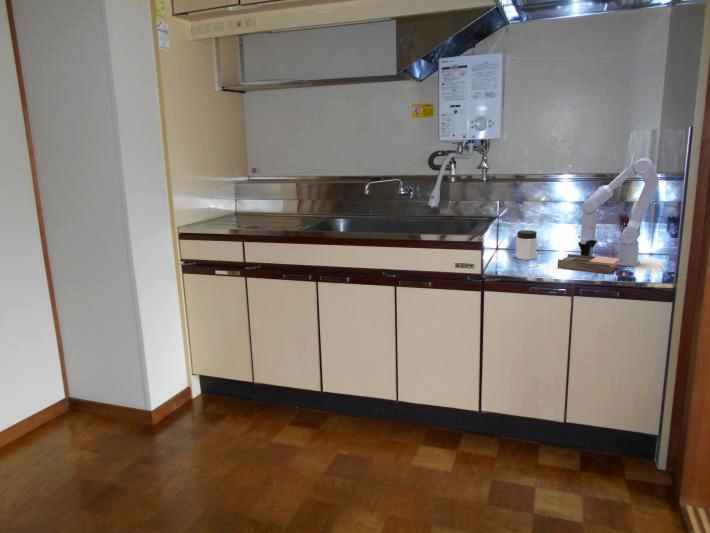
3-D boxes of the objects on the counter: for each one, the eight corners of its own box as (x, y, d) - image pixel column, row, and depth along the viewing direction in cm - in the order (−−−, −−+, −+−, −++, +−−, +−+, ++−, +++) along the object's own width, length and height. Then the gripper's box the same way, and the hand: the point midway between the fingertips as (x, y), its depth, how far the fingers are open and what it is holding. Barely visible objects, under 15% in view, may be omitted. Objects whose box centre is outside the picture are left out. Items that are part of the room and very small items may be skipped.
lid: (596, 259, 231) (596, 256, 231) (619, 262, 226) (619, 258, 225) (589, 264, 222) (589, 261, 222) (613, 267, 217) (613, 263, 217)
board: (567, 261, 240) (568, 253, 239) (617, 267, 228) (618, 259, 227) (557, 268, 229) (558, 259, 228) (608, 274, 217) (609, 265, 216)
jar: (525, 255, 255) (526, 229, 252) (539, 258, 248) (541, 231, 245) (511, 257, 250) (513, 231, 247) (526, 260, 243) (527, 234, 241)
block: (582, 259, 244) (583, 246, 242) (592, 260, 241) (593, 247, 240) (580, 261, 240) (581, 247, 239) (589, 262, 238) (590, 248, 237)
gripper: (583, 223, 245) (581, 253, 248) (574, 228, 234) (571, 259, 237) (600, 225, 241) (598, 255, 244) (591, 229, 230) (589, 261, 233)
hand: (586, 257), depth 241 cm, fingers closed on block, 4 cm apart
